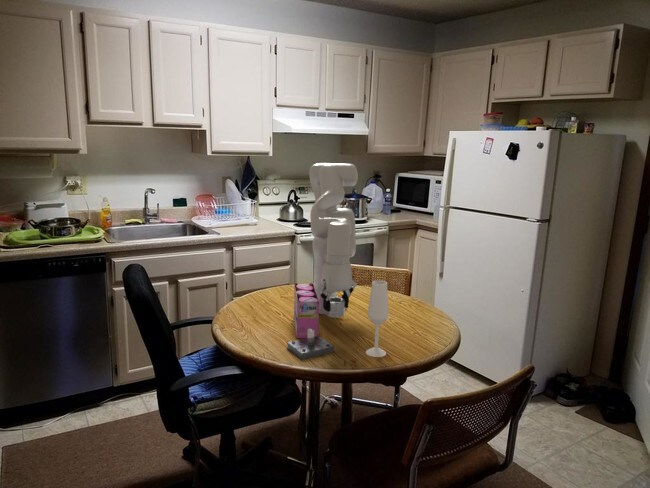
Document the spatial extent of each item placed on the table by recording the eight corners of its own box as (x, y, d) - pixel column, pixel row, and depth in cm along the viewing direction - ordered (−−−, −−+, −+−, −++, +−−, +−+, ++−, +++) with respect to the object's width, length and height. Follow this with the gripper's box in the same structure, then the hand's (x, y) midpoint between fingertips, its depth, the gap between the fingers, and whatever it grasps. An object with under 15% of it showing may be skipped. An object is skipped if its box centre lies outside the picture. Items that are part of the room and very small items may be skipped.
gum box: (293, 315, 191) (293, 282, 188) (312, 314, 192) (313, 282, 189) (296, 338, 167) (297, 301, 165) (318, 338, 168) (319, 301, 166)
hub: (337, 308, 169) (338, 294, 168) (348, 315, 164) (348, 301, 163) (321, 311, 166) (322, 298, 165) (331, 318, 161) (332, 304, 159)
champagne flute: (383, 348, 161) (387, 279, 156) (388, 356, 154) (392, 285, 150) (363, 348, 160) (367, 279, 155) (368, 357, 153) (371, 285, 149)
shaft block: (318, 341, 165) (318, 322, 164) (333, 351, 157) (334, 331, 155) (287, 347, 159) (287, 328, 158) (301, 359, 151) (302, 338, 149)
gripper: (352, 253, 167) (350, 301, 172) (309, 258, 158) (308, 309, 163) (365, 258, 161) (362, 308, 165) (321, 264, 152) (319, 316, 156)
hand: (335, 308), depth 164 cm, fingers closed on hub, 6 cm apart
